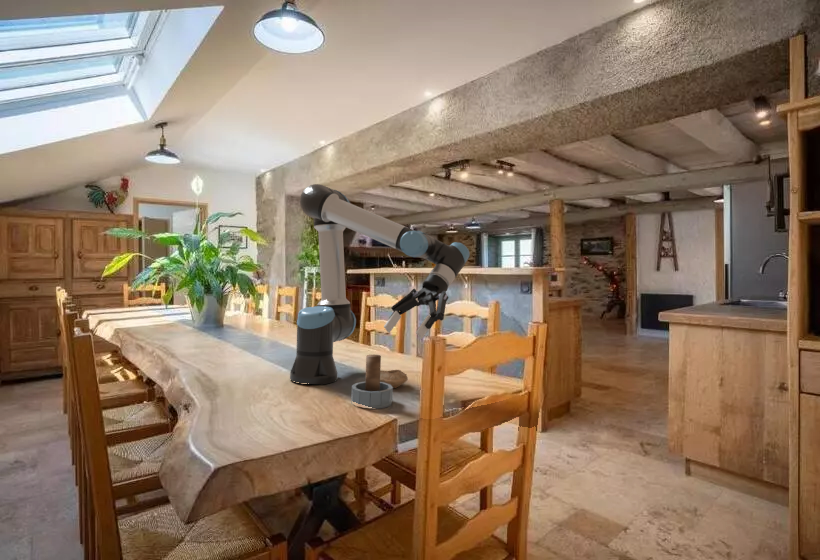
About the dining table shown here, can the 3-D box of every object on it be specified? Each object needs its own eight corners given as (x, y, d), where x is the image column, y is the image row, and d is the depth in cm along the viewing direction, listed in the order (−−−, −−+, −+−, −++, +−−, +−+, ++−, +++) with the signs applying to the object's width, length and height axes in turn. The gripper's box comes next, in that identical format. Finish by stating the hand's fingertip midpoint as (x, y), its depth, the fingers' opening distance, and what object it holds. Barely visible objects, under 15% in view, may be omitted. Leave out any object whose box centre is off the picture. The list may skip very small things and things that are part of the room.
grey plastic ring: (345, 406, 115) (345, 389, 115) (360, 395, 126) (361, 379, 126) (384, 411, 113) (384, 394, 112) (396, 399, 123) (397, 383, 123)
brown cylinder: (362, 400, 118) (364, 356, 118) (367, 396, 122) (369, 354, 121) (376, 402, 117) (378, 357, 116) (381, 398, 121) (382, 355, 120)
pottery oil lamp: (375, 378, 144) (386, 360, 145) (403, 397, 138) (414, 377, 139) (362, 374, 137) (374, 355, 137) (390, 394, 130) (402, 373, 131)
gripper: (475, 292, 130) (439, 347, 119) (415, 287, 147) (380, 335, 137) (464, 274, 126) (427, 329, 116) (405, 271, 144) (368, 319, 133)
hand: (402, 332), depth 126 cm, fingers open, 13 cm apart
